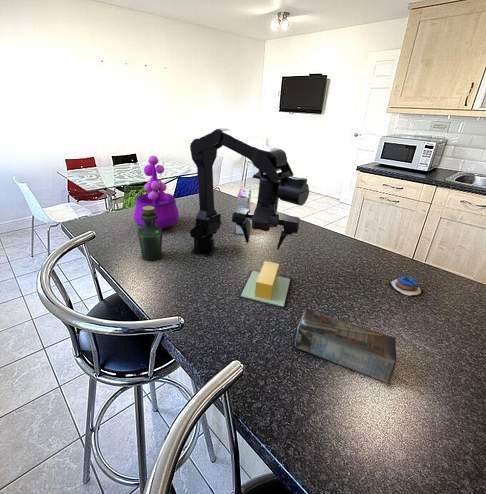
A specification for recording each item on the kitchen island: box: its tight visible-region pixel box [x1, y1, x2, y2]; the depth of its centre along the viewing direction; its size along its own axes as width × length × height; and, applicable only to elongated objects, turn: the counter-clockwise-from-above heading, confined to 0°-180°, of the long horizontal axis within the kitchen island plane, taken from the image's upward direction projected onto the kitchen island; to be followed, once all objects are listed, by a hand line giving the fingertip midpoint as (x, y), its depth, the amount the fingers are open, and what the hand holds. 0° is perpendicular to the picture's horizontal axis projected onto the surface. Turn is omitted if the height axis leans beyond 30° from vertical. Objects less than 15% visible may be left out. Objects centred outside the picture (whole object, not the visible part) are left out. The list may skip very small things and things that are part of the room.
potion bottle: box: [137, 206, 163, 262], centre depth 98 cm, size 8×8×18 cm
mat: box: [240, 270, 291, 308], centre depth 86 cm, size 12×14×1 cm
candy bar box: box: [235, 188, 252, 235], centre depth 121 cm, size 11×5×16 cm, turn 168°
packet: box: [255, 260, 280, 300], centre depth 85 cm, size 12×4×5 cm, turn 159°
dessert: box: [390, 274, 422, 296], centre depth 87 cm, size 8×7×6 cm
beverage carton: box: [294, 308, 397, 384], centre depth 63 cm, size 8×19×7 cm, turn 61°
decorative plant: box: [133, 155, 180, 230], centre depth 120 cm, size 19×18×30 cm
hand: (262, 245), depth 87 cm, fingers open, 9 cm apart
